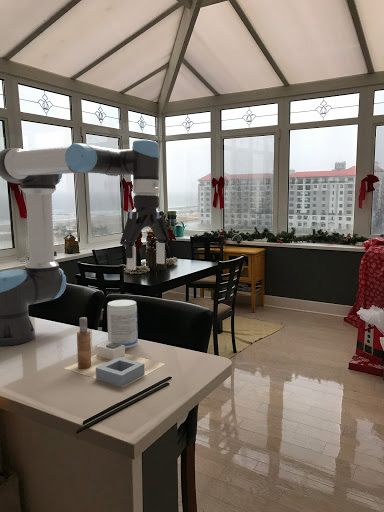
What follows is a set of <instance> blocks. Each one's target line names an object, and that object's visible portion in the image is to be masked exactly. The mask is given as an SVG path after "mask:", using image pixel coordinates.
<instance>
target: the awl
mask: <svg viewBox="0 0 384 512" xmlns="http://www.w3.org/2000/svg"><path fill="white" fill-rule="evenodd" d="M78 319H79V330H78V331H76V343H77V347H76V349H77V350H76V351H77V362H78V368H79V369H88V368H90V367H91V357H92V351H91V348H92V347H91V344H92V343H91V331H90V330H88V318H87V317H85V316H84V317H83V316H82V317H79V318H78Z"/></svg>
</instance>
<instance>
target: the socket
mask: <svg viewBox="0 0 384 512" xmlns="http://www.w3.org/2000/svg"><path fill="white" fill-rule="evenodd" d="M143 375H144V364H143V363H140V362H136V361H132V360H129V359H125V358H121V357H118V358H116V359H114V360H111V361H109V362H107V363H105V364H103V365H101V366H98V367H96V379H95V380H98V379H99V381H101V380H102V382H104V381H105V383H108V384H111V385H113V386H117V387H120V386H121V387H120V388H123V386H124V385H126V384H128V383H130V382H132V381H134V380H135V379H137V378H139V377H141V376H143ZM143 377H144V376H143ZM134 382H135V381H134Z"/></svg>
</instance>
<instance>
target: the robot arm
mask: <svg viewBox="0 0 384 512" xmlns="http://www.w3.org/2000/svg"><path fill="white" fill-rule="evenodd" d="M159 151H160V150H159V144H158V142H157V141H155V140H151V139H137V140H134V141H132V147H131V148H130V149H129V148H128V149H116V148H110V147H103V146H97V145H91V144H88V143H84V142H83V143H78V142H77V143H71V144H70V145H69V146H64V147H63V146H62V147H52V148H40V149H23V148H19V147H17V148H16V147H11V148H10V147H8V148H4V149H2V150H1V151H0V177H1V179H3V180H4V181H6V182H9V183H13V184H20V189H21V191H22V192H23V193H24V194H25V196H26V197H25V198H26V218H27V219H26V221H27V236H28V237H27V240H28V259H29V260H28V262H27V263H26V264H25V265H24V269H21V268H16V269H8V270H3V271H2V270H1V271H0V347H5V346H16V345H21V344H25V343H27V342H30V341H32V340H33V339H34V338H35V337H36V332H35V328H34V325H33V323H32V321H31V318H30V316H29V306H30V305H34V304H35V305H36V304H39V303H44V302H50V301H53V300H55V299H58V298H60V297H61V296H62V294H64V292H65V290H66V287H67V276H66V274H64V273H65V272H64V270H62V268H60V264H59V263H58V262H57V261H55V247H54V246H55V245H54V242H55V241H54V224H53V223H54V221H53V217H54V216H53V200H52V199H53V196H52V195H53V193H54V192H55V191H56V189H57V188H56V187H57V185H58V184H60V182H61V180H62V177H63V174H65V175H66V174H87V173H88V174H90V173H91V174H100V175H101V174H103V175H106V176H111V177H113V176H114V177H119V176H129V175H130V176H132V193H133V194H134V195H133V199H132V200H133V201H132V202H133V206H132V207H133V208H134V209H135V211H128V212H127V219H126V223H125V226H124V228H123V231H122V234H121V237H120V242H119V244H120V245H122V246H123V247H125V258H126V269H127V270H130V271H131V270H134V271H135V270H137V252H136V251H137V249H136V248H137V247H136V246H135V244H136V242H137V240H138V238H139V237H140V234H141V232H142V230H143V229H144V228H146V227H147V228H148V227H149V228H150V230H151V231H152V233H153V234H154V237H155V239H156V240H157V242H156V244H155V246H156V248H155V249H156V252H155V255H156V257H155V258H156V260H155V261H156V264H160V265H165V261H166V259H165V257H166V253H165V252H166V244H168V243H169V241H170V238H171V237H170V233H169V230H168V227H167V224H166V221H165V216H164V211H163V210H157V209H158V208H159V207H160V196H159V195H158V194H159V193H160V189H159V187H160V186H159V185H160V184H159V183H160V182H159V181H160V180H159V179H160V178H159V170H160V169H159V168H160V153H159Z"/></svg>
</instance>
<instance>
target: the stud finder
mask: <svg viewBox="0 0 384 512" xmlns="http://www.w3.org/2000/svg"><path fill="white" fill-rule="evenodd" d="M95 353H96V354H95V355H97V356H100V357H104V358H108V359H111V360H114V359H116V358H118V357H121V356H124V355H125V353H126V348H125V345H121V344H118V343H114V342H109V341H108V340H107V341H105V342H102V343H99V344H97V345H95Z"/></svg>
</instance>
